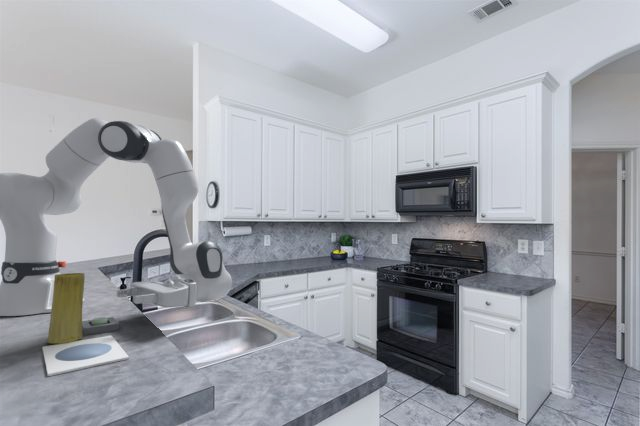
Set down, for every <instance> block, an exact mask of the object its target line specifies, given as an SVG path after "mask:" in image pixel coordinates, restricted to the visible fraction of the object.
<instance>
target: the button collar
mask: <svg viewBox="0 0 640 426" xmlns="http://www.w3.org/2000/svg"><path fill="white" fill-rule="evenodd" d="M107 318H108V320H107V324H100V325H93V326H91V325H92V319H90V320H82V335H83V336H88V335H95V334H101V333H107V332H115V331H119V330H120V322H119V321H117V319H115V318H114V317H113V316H112V317H107Z"/></svg>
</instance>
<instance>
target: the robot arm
mask: <svg viewBox="0 0 640 426" xmlns="http://www.w3.org/2000/svg"><path fill="white" fill-rule="evenodd" d="M110 157H111V158H113V159H115V160H118V161H124V162H129V163H132V164H133V163H135V164H136V163H142V164H147V166H149V168H150V169H151V172H152V174H153V178H154V180H155V183H156V187H157V189H158V193H159V198H160V203H161V205H160V206H161V207H160V208H161V214H162V215H161V216H162V218H163V224H164V228H165V232H166V235H167V239H168V243H169V248H170V253H169V254H170V255H169V261H170V262H169V264H170V268H171V270H172V271H173V272H174V274H171V275H170V276H169V277H168V279H166V280H165V281H164V282H163V281H158V280H149V281H147V280H146V281H135V282H131V283H130V285H129V287H128V288H124V289H122V288H121V289H118V290H117V292H116V297H117V298H127V297H129V296H131V297H132V303H133V304H135V305H138V304H139V305H140V304H153V305H155V306H159V307H161V308H178V307H181V308H182V307H186V308H193V307H196V304H197V303H206V302H212V301H215V300H216V301H217V300H220V299H222V298H224V297H226V296H227V295H228V294H229V292H230V290H231V289H232V285H233V283H232V282H233V280H232V275H231V274H230V273H229V271H227V269H226V267H225V264H224V261H223V257H224V256H223V251H222V249H221V247H220V246H219V245H218V244H217V243H216V242H214V241H212V240H211V241H210V240H205V241H201V242H196V243H192V241H191V237H190V234H189V229H188V226H187V225H188V224H187V220H186V217H187V216H186V215H187V212H188V209H189V207H190V206H191V205H192V203H193V202H194V201H195V199H196V198H197V196H198V193H199V183H198V179H197V176H196V173H195V171H194V168H193V165H192V163H191V160H190V158H189V156H188V154H187V151H185V148H184V147H183V145H182V144H181V143H180V142H179V141H177V140H175V139H171V138H163V139H162V137H161V136H160V135H159V134H158V133H157V132H155V131H153V130H152V129H149V128H146V127H145V126H142V125H139V124H133V123H130V122H129V121H123V120H114V121H110V122H108V121H107V120H105V119H103V118H99V117H98V118H97V117H96V118H91V119H88V120H86V121H85V122H83V123H82V124H80V125H78V126H77V127H75V128H74V129H73V130H72V131H70V132H69V133H68V134H67V135H66V136H64V137H63V139H61V141H59V142H58V143H57V144H56V145H55V146H54V147H53V148H52V149H51V150H50V151H49V152H48V153H47V154H46V156H45V164H46V166H47V168H48V171H47V173H46V174H44V175H43V176H36V175H30V174H24V173H19V172H18V173H17V172H0V221H1V224H2V226H3V228H4V232H5V251H4V253H5V254H4V261H3V262H2V264H1V270H0V275H1V278H2V279H1V281H0V317H16V316H29V315H38V314H46V313H51V310H52V300H53V290H54V279H55V275H56V274H62V273H61V272H60V268H62V269H63V268H64V269H65V268H66V267H67V265H68V263H67V261H65V260H63V261H61V260H59V261H57V260H56V257H57V256H56V255H57V245H58V235H57V234H56V232H55V231H54V230H52V229H51V228H49V226H48V225H47V223H46V221H45V218H44V215H49V216H50V215H51V216H58V215H60V216H61V215H65V214H71V213H74V212H75V211H77V210H78V208H79V207H80V206H81V204H82V198H83V197H82V194H81V187H82V186H83V184H84V182H85V181H86V180H87V179H88V178H89V177H90V176H91V175H92V174H93V173H94V172H95V171H96V170H97V169H98V168H99V167H100V166H101V165H103V163H104V162H105V161H106V160H107V159H108V158H110ZM83 302H86V301H85V297H83Z"/></svg>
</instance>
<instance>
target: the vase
mask: <svg viewBox="0 0 640 426" xmlns="http://www.w3.org/2000/svg"><path fill="white" fill-rule="evenodd" d="M84 290H85V273H84V272H72V273H70V272H69V273H61V274H56V275H55V279H54V290H53V300H52V310H51V312H50V319H49V320H50V321H49V326H48V327H49V328H48V334H47V335H48V336H47V339H46V342H47V344H49V345H56V344H62V343H69V342H74V341H80V340H81V339H83V336H84V335H83V333H82V321H83V307H84V306H83V305H84V304H83V303H84V301H83V298H84Z"/></svg>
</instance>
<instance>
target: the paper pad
mask: <svg viewBox="0 0 640 426" xmlns="http://www.w3.org/2000/svg"><path fill="white" fill-rule="evenodd" d="M41 350H42V354H43V360H44V364H45V370H46V375H47V377H52V376H56V375H60V374H66V373H70V372H75V371H79V370H86V369H88V368H89V369H90V368H93V367H94V368H95V367H97V366H99V367H100V366H103V365H107V364H112V363H113V364H114V363H116V362H121V361H126V360H129V359H130V356H129V355H128V353H126V351H125V350H124V349H123V348H122V347H121V345H120V344H119V342H118V341H117V340H116V339H115V338H114V337H113V335H105V336H100V337H94V338H89V339H88V338H87V339H82V340H81V339H79V340H77V341H73V342H69V343H62V344H49V345H45V346H42V349H41Z"/></svg>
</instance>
